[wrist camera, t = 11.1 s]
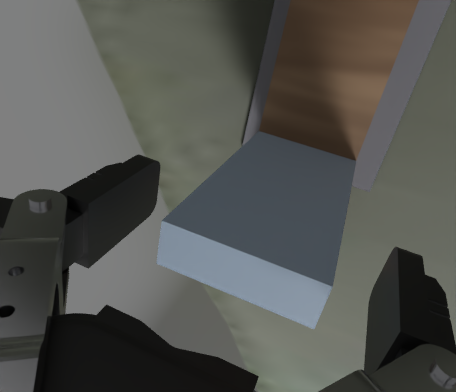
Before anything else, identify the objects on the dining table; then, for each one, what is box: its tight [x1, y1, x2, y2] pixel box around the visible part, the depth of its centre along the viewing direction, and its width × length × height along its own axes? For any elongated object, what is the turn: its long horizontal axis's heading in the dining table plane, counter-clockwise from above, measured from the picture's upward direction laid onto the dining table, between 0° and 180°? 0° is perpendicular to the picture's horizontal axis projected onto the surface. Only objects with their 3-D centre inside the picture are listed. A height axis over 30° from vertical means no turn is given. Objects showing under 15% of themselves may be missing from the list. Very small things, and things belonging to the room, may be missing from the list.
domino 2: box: [259, 0, 419, 161], centre depth 18 cm, size 2×5×10 cm
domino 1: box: [157, 131, 356, 329], centre depth 15 cm, size 2×5×10 cm, turn 79°
